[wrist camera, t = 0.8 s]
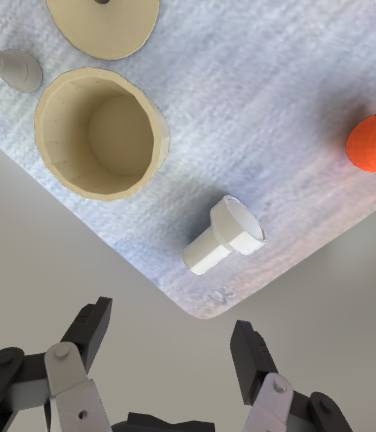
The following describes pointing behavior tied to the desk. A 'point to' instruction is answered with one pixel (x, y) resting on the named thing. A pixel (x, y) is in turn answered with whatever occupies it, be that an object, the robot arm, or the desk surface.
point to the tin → (100, 134)
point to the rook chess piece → (20, 70)
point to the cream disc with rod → (105, 25)
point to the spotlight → (225, 236)
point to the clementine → (363, 145)
